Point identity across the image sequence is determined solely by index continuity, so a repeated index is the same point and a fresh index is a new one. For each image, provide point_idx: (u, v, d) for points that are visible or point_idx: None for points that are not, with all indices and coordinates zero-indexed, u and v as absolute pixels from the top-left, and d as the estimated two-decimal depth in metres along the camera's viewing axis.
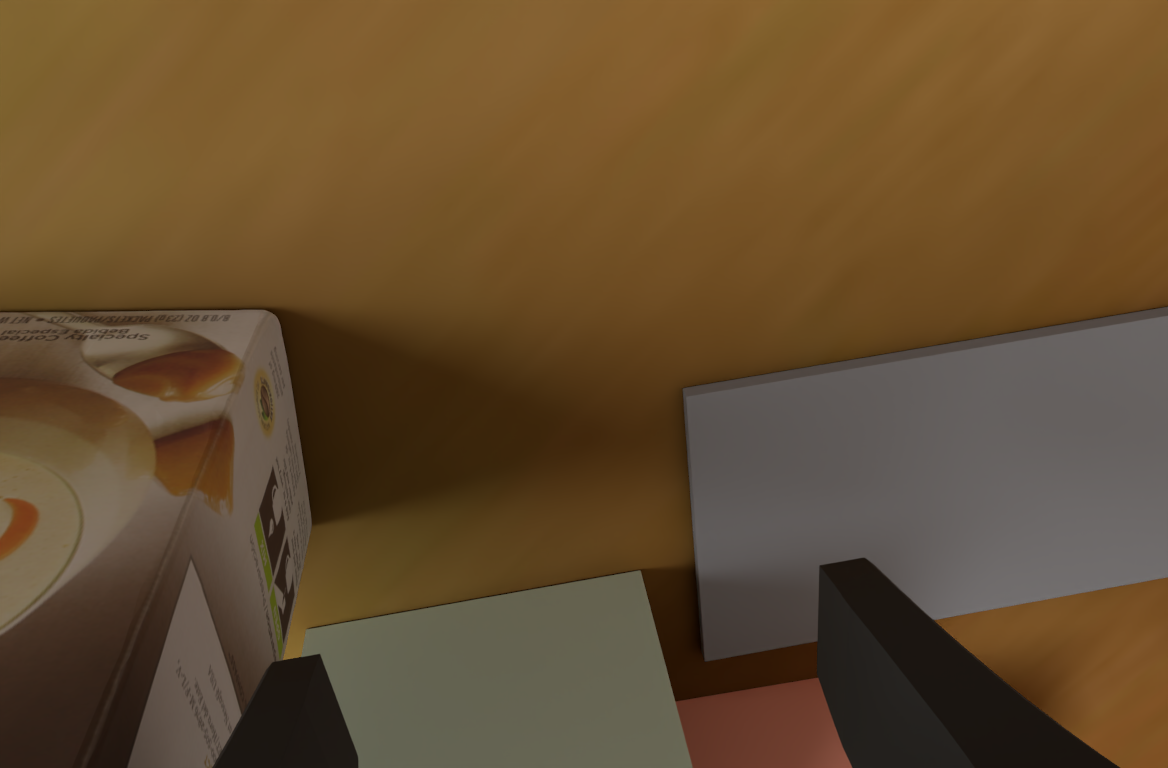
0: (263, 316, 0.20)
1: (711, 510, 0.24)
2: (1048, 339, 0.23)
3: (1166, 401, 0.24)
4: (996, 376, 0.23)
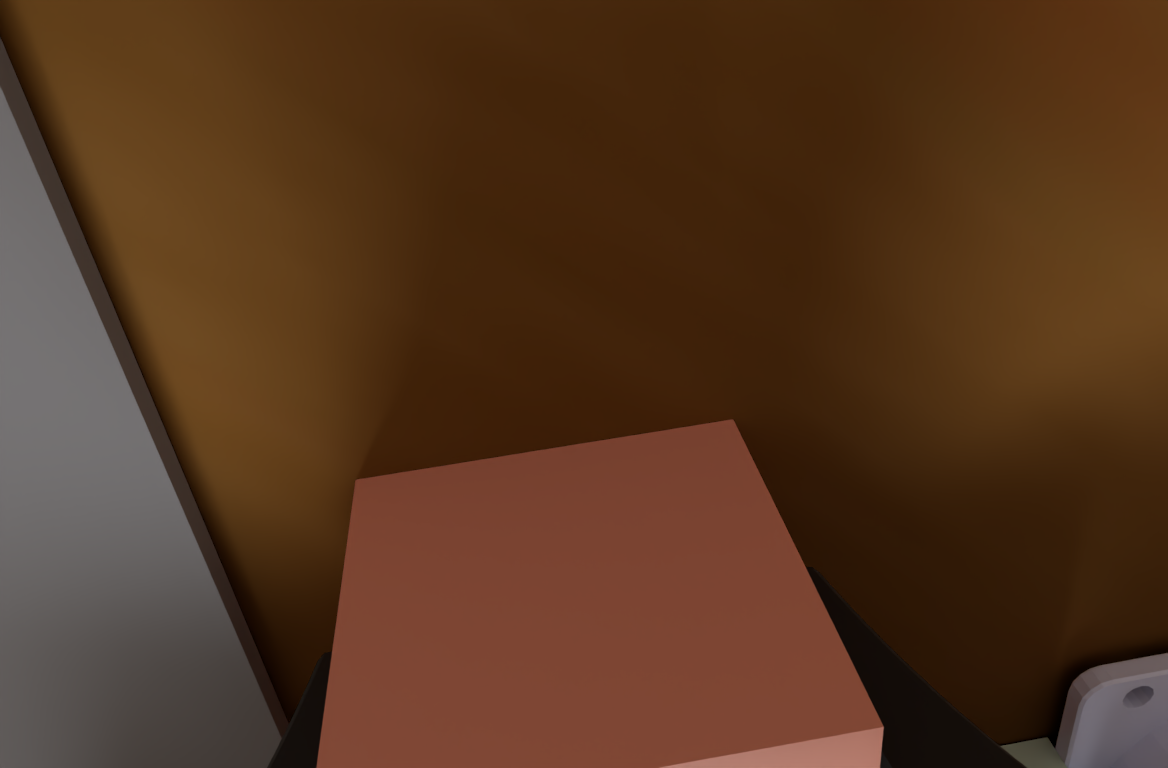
0: None
1: None
2: None
3: None
4: None
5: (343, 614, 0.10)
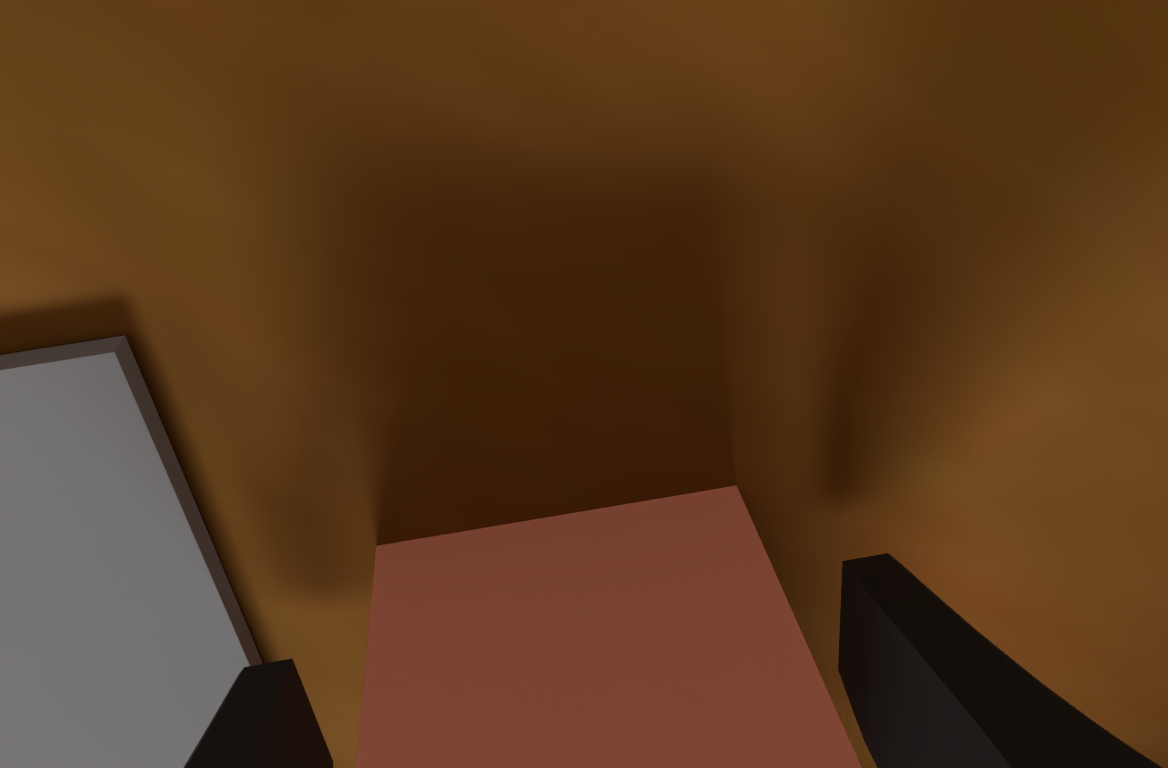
0: None
1: None
2: None
3: None
4: None
5: (370, 672, 0.11)
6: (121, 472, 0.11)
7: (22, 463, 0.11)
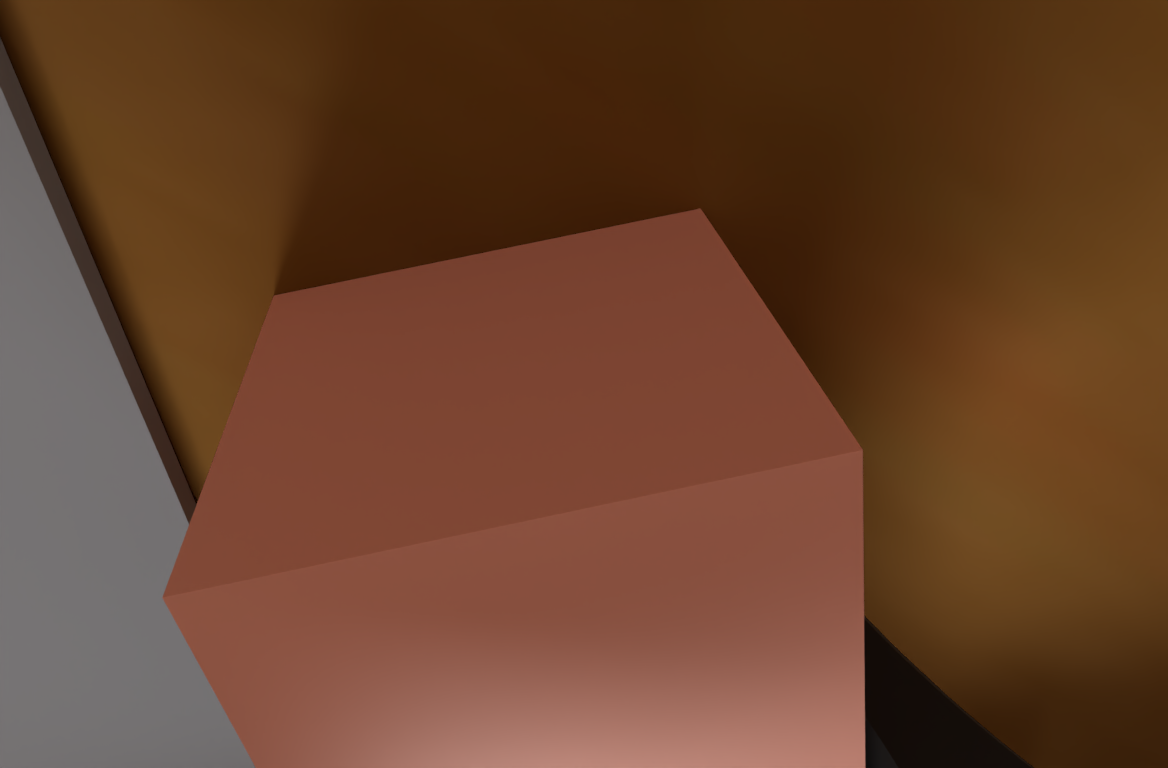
0: None
1: None
2: None
3: None
4: None
5: (239, 404, 0.09)
6: None
7: None
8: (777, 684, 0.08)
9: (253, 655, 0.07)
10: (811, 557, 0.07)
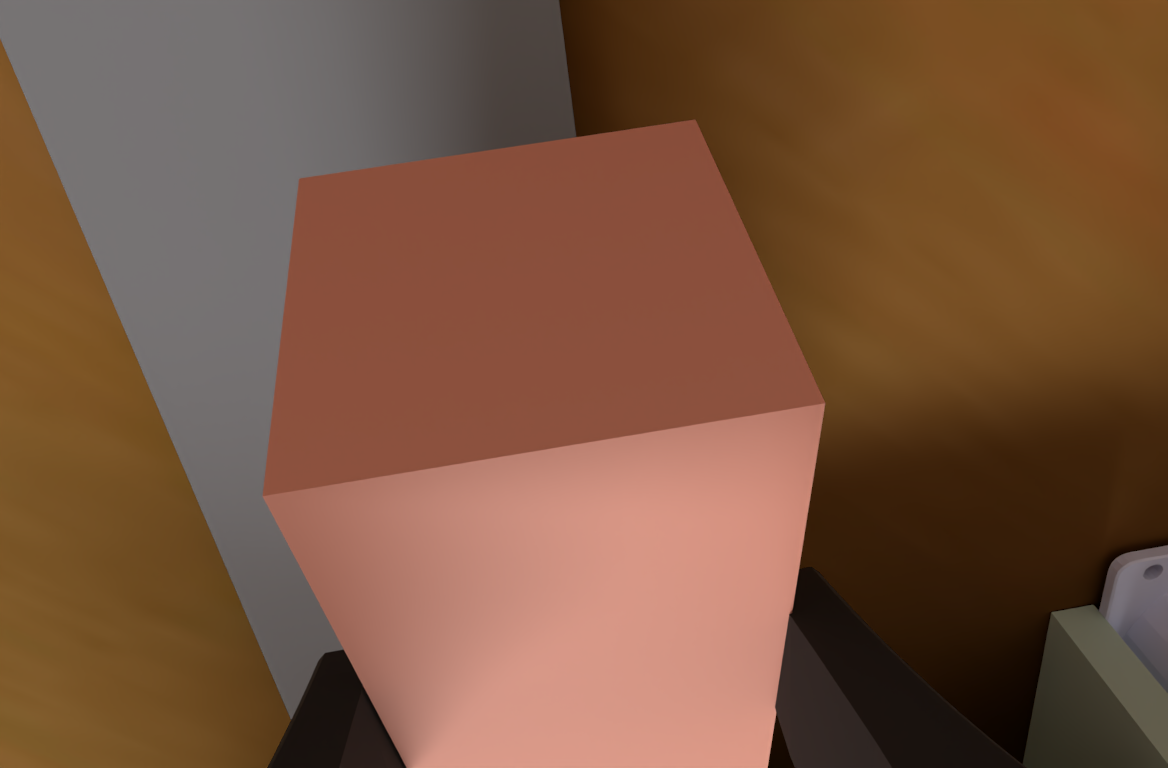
0: None
1: None
2: (175, 429, 0.19)
3: (242, 253, 0.17)
4: (233, 472, 0.20)
5: (290, 306, 0.10)
6: None
7: None
8: (734, 558, 0.10)
9: (330, 535, 0.09)
10: (773, 474, 0.09)
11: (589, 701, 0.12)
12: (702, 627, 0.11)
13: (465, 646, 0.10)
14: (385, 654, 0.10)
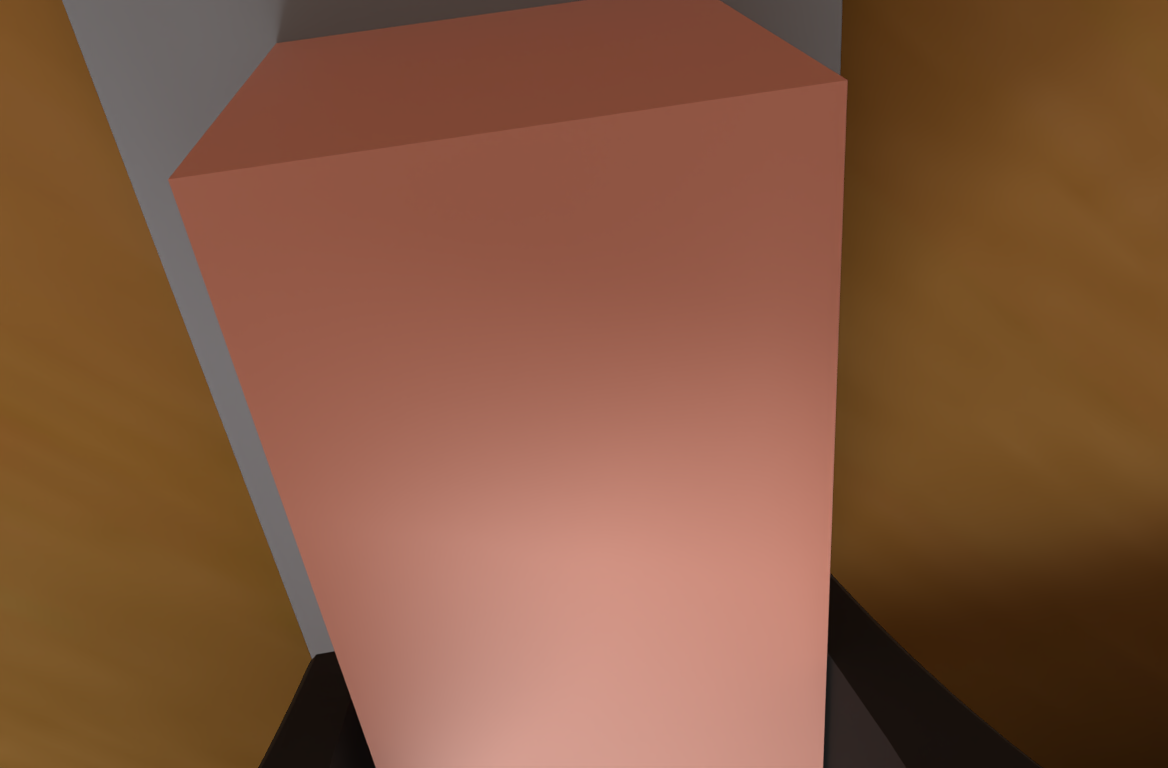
0: None
1: None
2: (284, 560, 0.15)
3: None
4: None
5: (242, 92, 0.09)
6: None
7: None
8: (754, 356, 0.08)
9: (252, 261, 0.07)
10: (793, 204, 0.07)
11: (587, 613, 0.09)
12: (722, 485, 0.09)
13: (427, 491, 0.08)
14: (325, 494, 0.08)
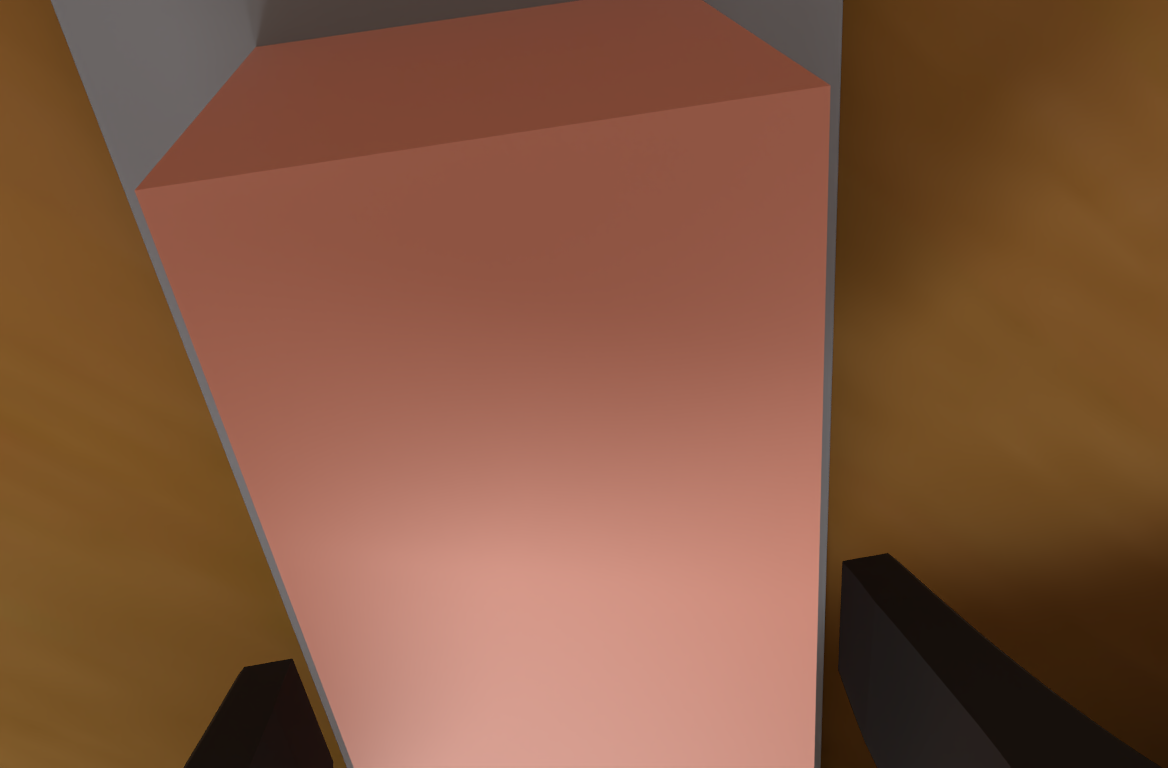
0: None
1: None
2: None
3: None
4: None
5: (217, 98, 0.09)
6: None
7: None
8: (738, 365, 0.08)
9: (223, 273, 0.07)
10: (776, 212, 0.07)
11: (572, 626, 0.09)
12: (708, 497, 0.09)
13: (405, 505, 0.08)
14: (303, 509, 0.08)
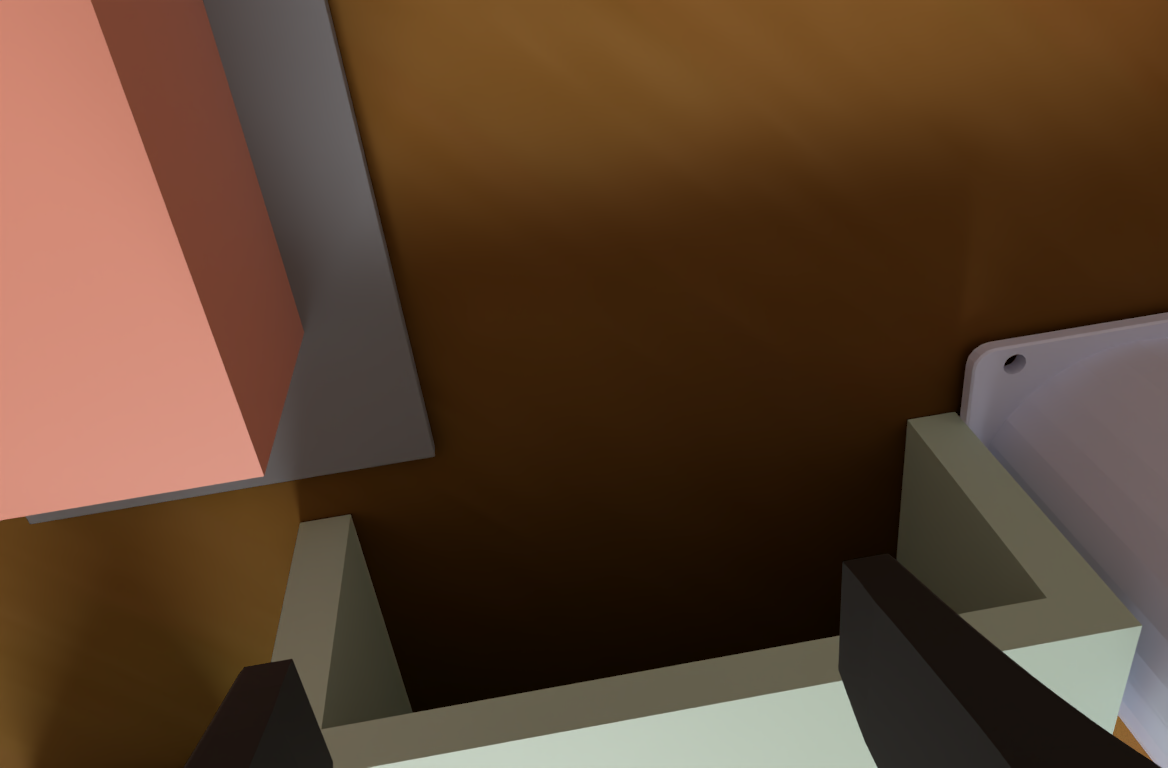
0: None
1: None
2: None
3: None
4: None
5: None
6: None
7: None
8: None
9: None
10: None
11: None
12: None
13: None
14: None
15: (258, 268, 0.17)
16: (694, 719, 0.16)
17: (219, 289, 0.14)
